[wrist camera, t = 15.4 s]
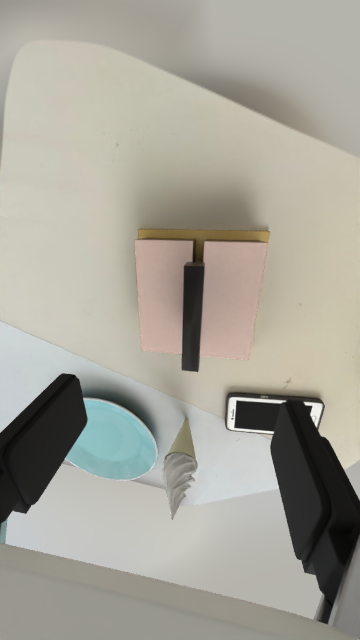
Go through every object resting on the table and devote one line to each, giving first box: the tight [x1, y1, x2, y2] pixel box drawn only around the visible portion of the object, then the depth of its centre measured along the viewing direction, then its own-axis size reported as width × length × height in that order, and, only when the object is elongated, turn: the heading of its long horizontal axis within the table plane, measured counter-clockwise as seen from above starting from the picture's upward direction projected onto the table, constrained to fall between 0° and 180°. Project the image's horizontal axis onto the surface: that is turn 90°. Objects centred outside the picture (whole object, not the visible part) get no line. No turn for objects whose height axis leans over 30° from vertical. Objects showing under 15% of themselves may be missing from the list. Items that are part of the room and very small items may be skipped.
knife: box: [182, 257, 205, 372], centre depth 25 cm, size 11×2×10 cm, turn 179°
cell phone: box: [225, 393, 325, 435], centre depth 36 cm, size 8×15×1 cm, turn 92°
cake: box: [134, 229, 270, 360], centre depth 28 cm, size 16×16×5 cm
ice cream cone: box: [162, 419, 198, 519], centre depth 33 cm, size 5×5×15 cm
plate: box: [66, 397, 158, 481], centre depth 43 cm, size 22×22×3 cm
